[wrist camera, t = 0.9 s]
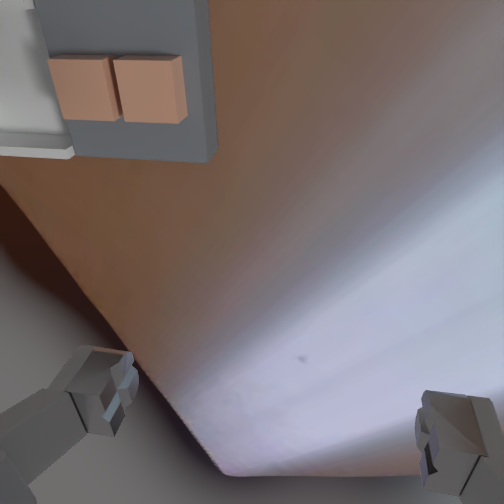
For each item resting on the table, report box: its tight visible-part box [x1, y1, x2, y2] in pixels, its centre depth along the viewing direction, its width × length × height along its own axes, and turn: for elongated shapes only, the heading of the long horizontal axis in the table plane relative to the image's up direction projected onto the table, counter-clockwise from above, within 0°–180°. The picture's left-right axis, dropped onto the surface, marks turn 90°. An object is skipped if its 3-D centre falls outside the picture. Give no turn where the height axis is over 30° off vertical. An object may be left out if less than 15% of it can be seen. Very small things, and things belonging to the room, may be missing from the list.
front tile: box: [113, 55, 188, 124], centre depth 35 cm, size 5×5×2 cm
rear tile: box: [47, 54, 123, 121], centre depth 36 cm, size 5×5×2 cm
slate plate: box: [34, 0, 218, 163], centre depth 38 cm, size 14×14×4 cm
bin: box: [0, 0, 76, 159], centre depth 40 cm, size 14×12×5 cm
